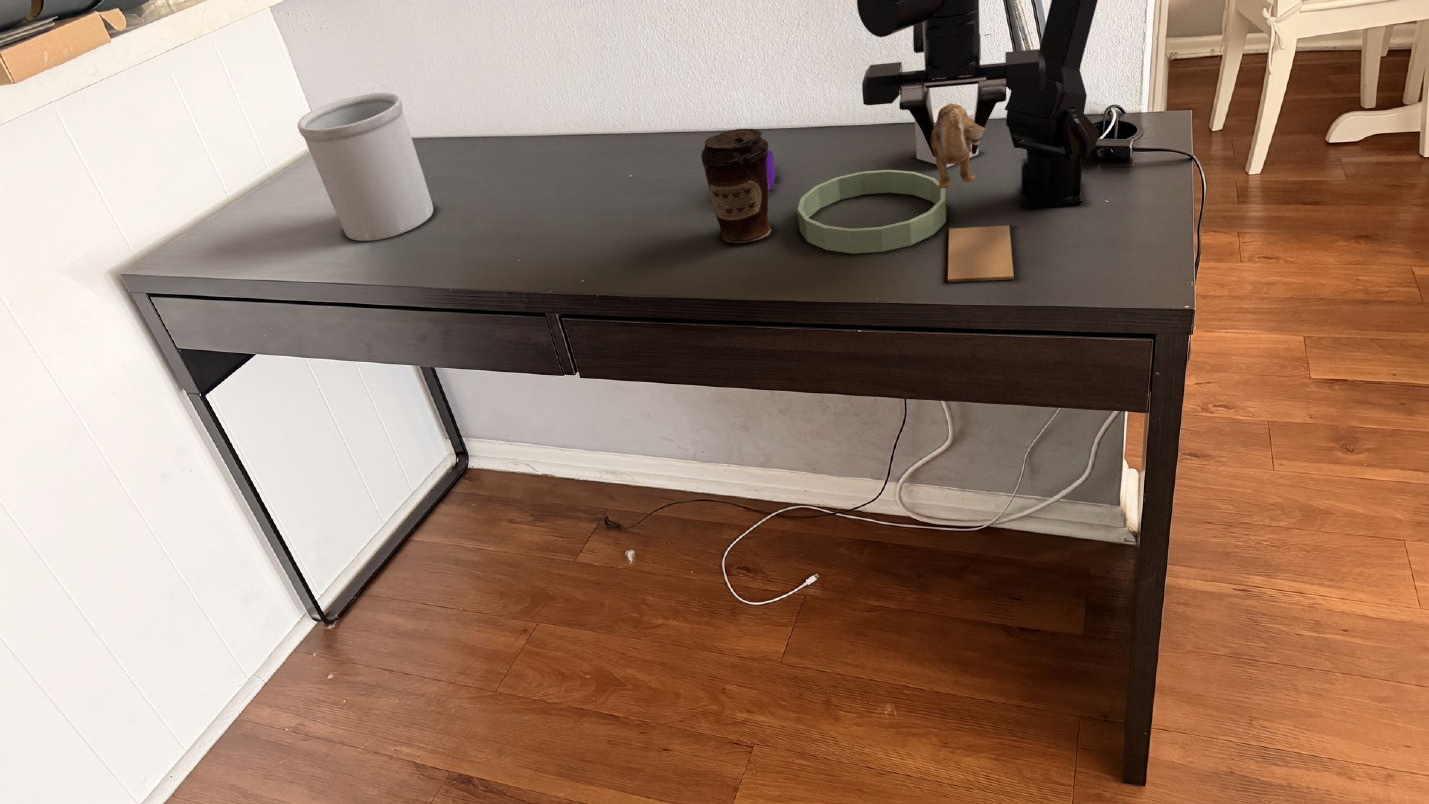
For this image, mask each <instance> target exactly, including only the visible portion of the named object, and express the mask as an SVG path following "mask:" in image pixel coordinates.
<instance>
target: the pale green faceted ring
mask: <svg viewBox="0 0 1429 804" xmlns="http://www.w3.org/2000/svg"><path fill="white" fill-rule="evenodd" d="M939 183H940V181H938V180H937V178H935V177H932V176H930V175H926V174H924V173H919V172H916V171H910V170H909V171H908V170H898V169H897V170H896V169H881V170H867V171H860V172H855V173H854V172H853V173H851V174H846V175H841V176H838V177H834V178H831V179H830V180H827V181H824V182H822V183H819V184H817V185H815V186H814V187H812V188H811V189H810V190H809V191H808V192H806V193H805V194H803V195H802V196H801V197H800V200H799V203H798V206H797V209H796V211H797V218H798V228H799V232H800V233H801V234H802V236H803V237H804V239H805V241H806V242H807V243H809V244H812V245H814V246H815V247H818V248H820V249H823V250H824V251H832V252H839V253H847V254H868V253H869V254H870V253H883V252H887V251H892V250H893V251H894V250H897V249H902V248H905V247H910V246H913V245H915V244H917V243H919V242H921V241H923V240H926V239H928V238H930V237H932V236H934V235H935V234H936V233H937V232H938V231H939V230H940V229H941V228H942V227H943V226H944V225H945V224H946V223H947V191H946V190H947V188H944V189H942V188H939ZM886 193H887V194H890V193H891V194H902V195H910V196H916V197H919V198H921V199H925V200H927V201H930V202H932V203H933V204H934V205H933V206H932V207H931V208H930V209H929V210H928V211H926V212H924V213H922V214H919V215H918V216H915V217H913V218H911V219H909V220H905V221H900V222H897V223H893V224H888V225H884V226H875V227H860V228H859V227H857V228H847V227H840V226H831V225H826V224H823V223H821V222H819V221H816V220H814V219H811V217H812V216H813V215H814V214H815V213H817V212H818V211H819V210H820V209H822V208H825V207H827V206H829V205H831V204H834V203H836V202H838V201H841V200H845V199H849V198H850V199H851V198H854V197H859V196H863V195H873V194H886Z"/></svg>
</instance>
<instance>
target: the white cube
mask: <svg viewBox="0 0 1429 804" xmlns="http://www.w3.org/2000/svg"><path fill="white" fill-rule="evenodd" d="M948 104H949V103H948ZM948 104H947V103H946V104H944V105H942V106H939V107H936V108H934V109H932V113H933V119H934V125H935V124H936V121H937V117H938V113H939V111H940V109H941V108H943V107H944V106H946V105H948ZM962 108H963V107H962ZM963 109H966V112H967V115H968V118H971V119H973V121H974V116H975V110H972V109H968V108H963ZM914 131H915V132H914V133H915V151H916V152H915V153H916V160H917V159H918V160H921V161H924V162H927V163H931V164H934V165H936V157H933V155H932V152H931V150H930V148H929V146H928V144H927V141H926V139H925V137H924V135H923V133H922V130H921V128H920V127H919V125H918V124H917V122H916V121H915V120H914ZM971 148H972V144H971ZM978 155H979V148H978V149H977V151H976V154H972V151H971V152H970V153H969V156H970V158H972V157H975V156H978ZM954 165H955V164H947V168H949V167H951V166H954Z"/></svg>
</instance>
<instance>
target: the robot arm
mask: <svg viewBox="0 0 1429 804" xmlns="http://www.w3.org/2000/svg"><path fill="white" fill-rule="evenodd" d="M1098 2H1099V0H1050V4H1049V9H1048V13H1047V16H1046V21H1045V24H1044V29H1043V33H1042V37H1041V40H1040V45H1039V48H1035V49H1025V50H1015V51H1005V53H1004V55H1005V56H1004V62H995V63H985V64H981V60H982V56H981V55H982V53H981V51H982V48H981V45H982V43H981V33H980V0H856V7H857V13H858V15H859V16H858V17H859V19H860V21H861V23H862V25H863V27H864V28H865V29H866V30H867V31H868V32H869V33H870V34H871V35H873V36H875V37H878V38H885V37H888V36H891V35H893V34H896V33H898V32H900V31H904V30H906V29H909V28H911V27H912V44H913V46H912V47H913V52H914V54H923V59H924V60H923V61H924V69H919V70H909V71H908V70H907V71H903V70H904V69H903V64H902V61H897V62H896V61H895V62H885V63H878V64H877V63H876V64H870V65H869V66H868V68H867V69H866V70H865V73H864V75H863V79H862V83H861V91H862V104H863V105H865V106H878V105H891V104H894V102H895V101H896V100H897V99H898V98H899V97H900V98H899V104H898V105H899V106H898V107H899V110H901V111H909V113H910V114H911V116H912V118H913V119H914V122H915V121H916V122H917V124H918V125H919V127H920V128H921V130H922V133H923V135H924V137H925V139H926V141H927V144H928V146H929V148H930V150H931V152H932V155H933V157H935V155H934V152H933V149H932V145H931V135H932V131H933V129H934V127H935V125H934V119H933V113H932V110H933V107H932V100H931V90H930V89H934V88H947V87H958V86H970V85H977V89H976V101H975V109H974V111H975V116H974V123H976V124H977V125H979V126H981V127H984V128H985V129H986V126H987V123H988V121H989V119H990V116H991V115H992V113H993V111H994V108H996V105H997V104H998V103H1003V102H1005V101H1007V89H1008V90H1009V91H1010V94H1009V97H1008V101H1007V103H1006V105H1005V107H1004V110H1005V111H1006V114H1005V115H1006V117H1005V125H1006V127H1007V128H1008V131H1009V134H1010V138H1011V141H1012V145H1013V148H1015V149H1021V150H1026V157H1023V158H1022V159H1021V161H1020V162H1021V166H1020V168H1021V169H1020V170H1021V171H1020V172H1021V173H1020V174H1021V175H1020V183H1021V184H1020V191H1021V197H1022V198H1025V204H1026V207H1028V208H1037V207H1054V206H1055V207H1056V206H1068V205H1070V206H1071V205H1081V204H1083V195H1082V194H1083V193H1082V190H1081V188H1082V171H1083V170H1082V168H1083V167H1082V166H1083V158H1087V157H1089V156H1090V155H1091V151H1093V150H1095V149H1096V147H1097V143H1098V139H1099V136H1100V130H1099V129H1098V128H1097V127H1096V125H1095V124H1094V123H1093V122H1092V121H1091V120H1090V119H1089V118H1088V117H1087V116H1086V114H1085V109H1086V104H1087V103H1086V102H1087V97H1088V94H1087V91H1086V88H1085V87H1086V86H1085V84H1084V80H1083V78H1082V77H1083V76H1082V72H1081V66H1082V62H1083V58H1084V53H1085V50H1086V46H1087V42H1088V39H1089V36H1090V33H1091V32H1090V31H1091V28H1092V24H1093V21H1094V20H1093V19H1094V16H1095V13H1096V8H1097V4H1098ZM982 137H983V135H982V136H981V137H980V141H981V139H982ZM979 145H980V144H979ZM979 145H974V144H972V154H976V151H977V149H978V150H979Z"/></svg>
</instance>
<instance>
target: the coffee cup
mask: <svg viewBox="0 0 1429 804" xmlns="http://www.w3.org/2000/svg"><path fill="white" fill-rule="evenodd" d="M762 134H763V132H762V131H761V130H757V129H754V128H736V129H732V130H728V131H722V132H720V133H719V134H717V135H712V136H710V137H708V138H706V139H705V140H704V148H703V149H702V151H701V154H700V159H701V162H702V166H703V168H704V172H705V178H706V181H707V185H708V186H707V187H708V191H709V194H710V198H711V202H712V207H713V211H714V213H715V217H716V220H717V223H718V226H719V229H720V230H719V231H720V236H721V238H722V239H723V240H724V241H725V242H728V243H734V244H744V243H750V242H754V241H758V240H761V239H763V238H765V237H768V236H770V235H771V232H772V228H771V225H770V223H769V219H768V217H769V216H768V211H769V197H770V192H769V191H770V190H769V183H768V176H767V157H768V150H769V142H768V141H767V140H766V139H764V138H762Z"/></svg>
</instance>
